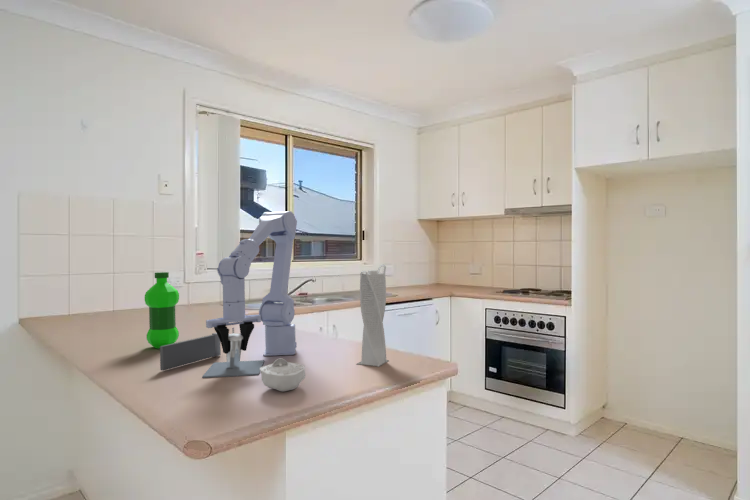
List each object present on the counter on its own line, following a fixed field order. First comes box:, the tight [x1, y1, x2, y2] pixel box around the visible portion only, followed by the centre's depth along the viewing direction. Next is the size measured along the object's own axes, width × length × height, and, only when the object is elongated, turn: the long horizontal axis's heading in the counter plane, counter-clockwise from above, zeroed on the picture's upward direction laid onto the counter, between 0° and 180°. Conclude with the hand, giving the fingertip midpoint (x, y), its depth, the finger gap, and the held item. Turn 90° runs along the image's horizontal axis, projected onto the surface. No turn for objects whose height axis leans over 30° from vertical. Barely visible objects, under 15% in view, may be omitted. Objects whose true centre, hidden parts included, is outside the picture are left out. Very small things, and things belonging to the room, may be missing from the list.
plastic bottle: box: [144, 271, 180, 349], centre depth 154 cm, size 10×10×25 cm
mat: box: [201, 359, 265, 379], centre depth 125 cm, size 14×14×1 cm
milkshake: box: [226, 327, 243, 368], centre depth 125 cm, size 4×5×10 cm
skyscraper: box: [356, 264, 390, 368], centre depth 129 cm, size 8×8×28 cm
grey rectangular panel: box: [159, 332, 222, 371], centre depth 132 cm, size 2×20×7 cm, turn 151°
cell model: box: [260, 357, 306, 392], centre depth 107 cm, size 10×12×7 cm
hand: (234, 351), depth 125 cm, fingers closed on milkshake, 4 cm apart
